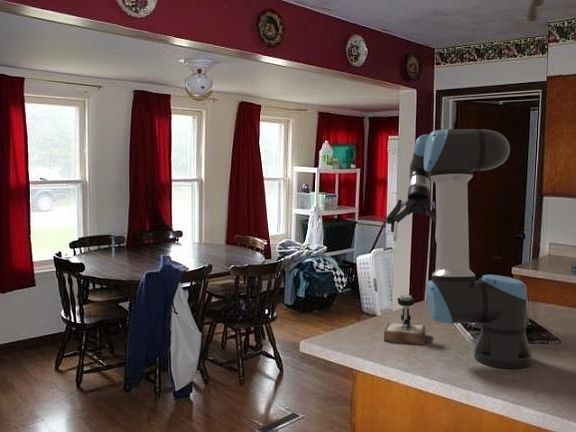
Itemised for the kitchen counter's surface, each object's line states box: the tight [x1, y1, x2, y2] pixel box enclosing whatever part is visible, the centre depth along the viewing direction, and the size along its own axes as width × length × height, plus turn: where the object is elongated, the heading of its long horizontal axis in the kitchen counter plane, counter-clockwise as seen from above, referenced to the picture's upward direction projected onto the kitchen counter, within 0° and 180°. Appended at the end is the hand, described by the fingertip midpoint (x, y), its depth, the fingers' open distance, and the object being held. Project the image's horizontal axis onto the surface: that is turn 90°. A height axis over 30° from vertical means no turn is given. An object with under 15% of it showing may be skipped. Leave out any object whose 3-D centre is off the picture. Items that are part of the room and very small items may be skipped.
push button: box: [397, 294, 416, 329], centre depth 181 cm, size 7×5×10 cm
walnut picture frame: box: [383, 322, 427, 345], centre depth 181 cm, size 12×10×3 cm
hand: (415, 239), depth 190 cm, fingers open, 13 cm apart
